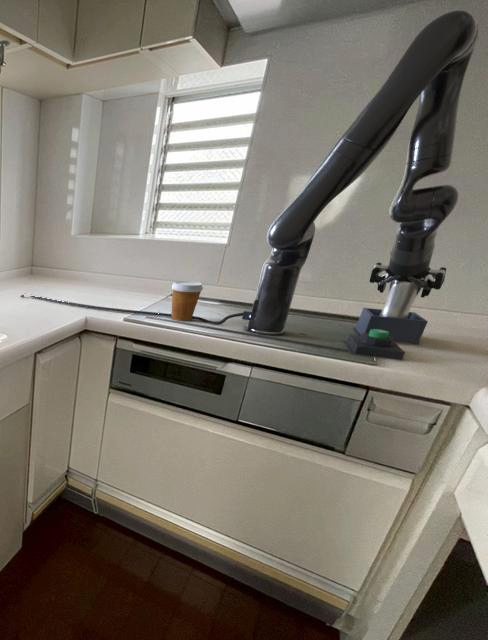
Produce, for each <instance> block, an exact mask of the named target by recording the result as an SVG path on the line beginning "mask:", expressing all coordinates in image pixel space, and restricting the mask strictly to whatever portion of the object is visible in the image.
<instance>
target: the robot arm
mask: <svg viewBox="0 0 488 640" xmlns="http://www.w3.org/2000/svg"><path fill="white" fill-rule="evenodd" d="M480 33H481V31H480V26H479V23H478V21H477V20H476V18H475V17H474V15H473V14H472V13H471V12H470V11H467V10H463V9H455V10H451V11H448V12H445V13H443V14H441V15H439V16H437V17H436V18H434V19H433V20H431V21H430V22H429V23H427V24H426V25H425V26H424V27H423V28H421V30H420V31H418V33H417V34H416V35H415V37H414V39H412V41H411V42H410V45H409V46H408V47H407V49H406V50H405V52H404V53H403V55H402V56H401V58H400V60H399V61H398V62H397V63H396V66H395V67H394V69H393V70H392V72H391V73H390V75H388V78H387V79H386V81H384V83H383V85H382V86H381V87H380V89H379V90H378V91H377V92H376V94H375V95H374V96H373V97H372V99H371V100H370V101H369V102H368V103H367V104H366V106H365V107H364V108H363V109H362V110H361V112H360V113H359V114H358V115H357V116H356V118H355V120H354V121H353V122H352V123H351V124H350V126H349V127H348V128H347V129H346V130H345V132H344V133H343V134H342V135H341V137H340V138H339V139H338V140H337V142H336V143H335V144H334V145H333V147H332V148H331V149H330V151H329V152H328V154H327V155H326V156H325V157H324V160H322V162H321V163H320V164H319V166H318V167H317V168H316V170H315V171H314V172H313V174H312V175H311V177H310V178H308V180H307V182H306V183H305V184H304V186H303V188H302V189H301V191H299V193H298V194H297V196H295V198H294V199H293V200H292V201H291V202H290V203H289V204H288V205H287V207H286V208H285V209H283V211H281V213H280V214H279V215H278V216H277V217H276V218H275V219H274V220H273V222H272V223H271V224H270V226H269V227H268V230H267V233H266V241H267V244H268V245H269V247H271V252H270V254H269V257H267V259H266V261H265V262H264V263H263V265H262V268H261V272H260V275H259V280H258V283H257V288H256V292H255V296H254V298H253V302H252V307H251V308H245V309H244V310H243V312H238V313H231V314H229V315H227V316H225V317H223V318H222V319H221V320H218V321H217V320H216V321H213V320H209V319H206V318H203V317H201V316H195V315H193V316H192V319H191V320H196V321H200V322H203V323H207V324H211V325H222V324H225V322H227V321H228V320H229V319H233V318H237V317H241V320H243V321H248V322H247V325H246V331H248V332H253V333H257V334H262V335H272V336H278V335H282V334H284V329H285V326H286V324H287V323H286V322H287V320H288V316H289V313H290V309H291V305H292V302H293V298H294V295H295V292H296V288H297V285H298V281H299V278H300V274H301V271H302V270H303V269H302V268H304V265H305V264H306V261H307V260H308V256H309V253H310V251H311V247H312V244H313V241H314V238H315V233H316V223H315V221H316V219H317V218H318V217H319V215H320V214H321V213H322V212H323V211H324V210H325V208H326V207H327V206H328V205H329V204H330V203H331V202H332V201H333V200H335V198H337V197H338V196H339V195H340V194H341V193H342V192H344V191H345V190H346V189H347V188H349V187H350V186H351V185H352V184H353V183H354V182H355V181H356V180H358V179H359V178H360V177H361V176H362V175H363V174H364V173H365V172H366V171H367V169H368V168H369V167H371V165H372V164H373V163H374V161H375V160H376V159H377V158H378V157H379V155H380V154H381V153H382V152H383V151H384V150H385V148H386V147H387V146H388V144H389V143H390V141H391V140H392V139H393V137H394V136H395V134H396V132H397V131H398V129H399V127H401V124H402V123H403V121H404V119H405V117H406V116H407V114H408V112H409V110H410V109H411V107H412V106H413V104H414V103H415V101H417V99H418V98H419V100H418V106H417V111H416V115H415V118H414V121H413V125H412V128H411V131H410V134H409V135H410V136H409V139H408V145H407V151H406V159H405V166H404V172H403V177H402V180H401V183H400V185H399V187H398V190H397V192H396V194H395V196H394V198H393V200H392V202H391V204H390V207H389V210H388V215H389V218H390V219H391V220H392V221H393V222H394V223H397V224H399V225H398V226H397V228H396V231H395V237H394V242H393V245H392V247H391V250H390V257H389V263H388V265H382V262H375V265H373V268H372V270H371V273H370V278H369V283H370V284H374V283H376V284H377V291H379V293H380V294H383V293H384V292H385V290H386V288H387V284H390V283H391V282H392V281H394V280H396V281H406V282H414V283H415V284H416V285H417V286H421V287H422V288H421V294H420V298H425V297H429V295H430V293H432V292H431V291H432V289H434V290H440V289H441V288H442V286H443V285H444V282H445V278H446V274H447V267H444V266H441V267H440V268H439V269H432V268H431V267H430V264H431V261H432V257H433V254H434V250H435V246H436V242H435V241H436V237H437V233H438V230H439V228H440V227H441V226H442V224H443V223H444V222H445V221H446V219H447V218H448V217H449V216H450V215H451V213H452V212H453V210H454V209H455V207H456V206H457V204H458V202H459V194H460V193H459V191H458V189H457V188H456V187H455V186H454V185H451V184H438V185H434V186H428V187H422V188H415V186H416V185H417V183H419V182H420V181H422V180H424V179H426V178H430V177H433V176H437V175H440V174H443V173H445V172H446V171H448V170H449V169H450V167H451V164H452V159H453V152H454V147H455V139H456V130H457V123H458V122H457V121H458V113H459V104H460V99H461V98H460V97H461V92H462V88H463V84H464V80H465V76H466V73H467V70H468V67H469V64H470V61H471V58H472V56H473V53H474V50H475V48H476V45H477V42H478V40H479V38H480ZM383 272H385V274H383V275H379V274H380V273H383ZM430 276H431V277H432V278H431V277H430ZM419 279H420V280H419ZM35 296H36V295H35ZM35 296H29V297H31V298H33V299H37V300H38V299H39V300H44V301H47V302H54V303H58V304H64V305H68V306H69V305H71V306H75V307H82V308H87V309H88V308H89V309H95V310H102V311H111V312H120V313H129V314H137V315H147V316H159V317H170V318H171V314H172V313H164V312H156V311H155V312H153V311H143V310H133V309H124V308H116V307H115V308H114V307H105V306H98V305H93V304H92V305H91V304H84V303H77V302H71V301H66V300H61V301H57V300H58V299H55V300H52V299H53V298H50V299H47V298H48V297H45V298H42V297H43V296H40V297H35ZM20 297H22V298H24V297H25V296H24V295H23V294H21V295H20V296H19V298H20ZM62 301H64V302H62ZM68 302H69V303H68ZM158 313H159V314H158Z"/></svg>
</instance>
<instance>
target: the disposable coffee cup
mask: <svg viewBox="0 0 488 640" xmlns="http://www.w3.org/2000/svg"><path fill="white" fill-rule="evenodd" d="M171 289H172V291H171V292H172V295H171V313H170V314H171V317H170V318H171V319H173V320H175V321H183V322H189V321H191V320H193V319H192V316H194V313H195V310H196V307H197V303H198V301H199V298H200V295H201V292H202V291H203V290H204V287H203V283H201V282H198V281H192V280H191V281H190V280H176V281H174V282H173V283H172V285H171Z"/></svg>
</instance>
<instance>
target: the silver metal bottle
mask: <svg viewBox="0 0 488 640" xmlns="http://www.w3.org/2000/svg"><path fill="white" fill-rule="evenodd" d="M419 280H420V279H419ZM422 289H423V288H422V287H421V286H417V285H416V284H415V283H414V282H406V281H396V280H394V281H392V282H389V288H388V292H387V297H386V300H385V303H384V305H383V308H381V309H382V311H381V313H380V315H379V316H384V317H394V318H404V319H407V318H408V314H409V312H411V308H412V306H413V304H414V302H415V301H416V298H417V297H418V295H419V293H420V292H421V291H422Z"/></svg>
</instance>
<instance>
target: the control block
mask: <svg viewBox="0 0 488 640" xmlns="http://www.w3.org/2000/svg"><path fill="white" fill-rule="evenodd" d="M368 335H369V333H361V334H359V335H356V334H349V335H348V336H347V340H346V343H347V345H348V346H349V348H350V349H351V351H352V352H353V355H361V356H367V357H375V358H382V359H389V360H395V361H396V360H398V361H402V360H403V358H404V356H405V354H406V352H405V351H404V350H403V349H402V347H400V346H399V345H398V344H397V343H396V342H395V338H394V337H391V336H388V337H387V339H381V338H374V337H370V336H368Z"/></svg>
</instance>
